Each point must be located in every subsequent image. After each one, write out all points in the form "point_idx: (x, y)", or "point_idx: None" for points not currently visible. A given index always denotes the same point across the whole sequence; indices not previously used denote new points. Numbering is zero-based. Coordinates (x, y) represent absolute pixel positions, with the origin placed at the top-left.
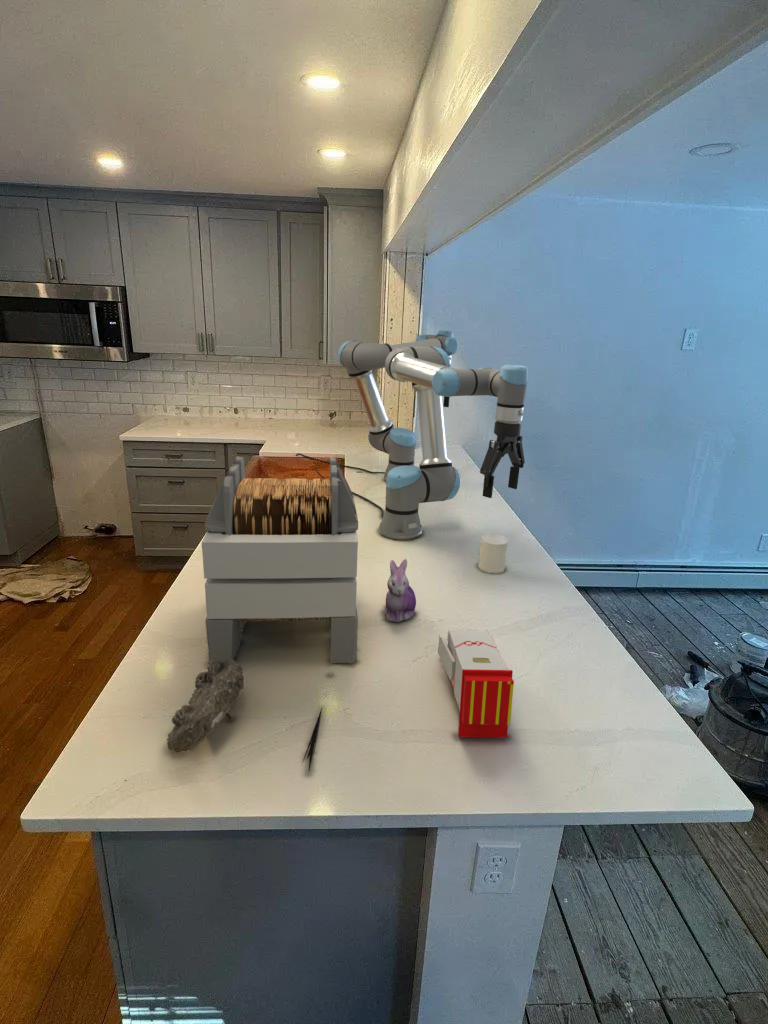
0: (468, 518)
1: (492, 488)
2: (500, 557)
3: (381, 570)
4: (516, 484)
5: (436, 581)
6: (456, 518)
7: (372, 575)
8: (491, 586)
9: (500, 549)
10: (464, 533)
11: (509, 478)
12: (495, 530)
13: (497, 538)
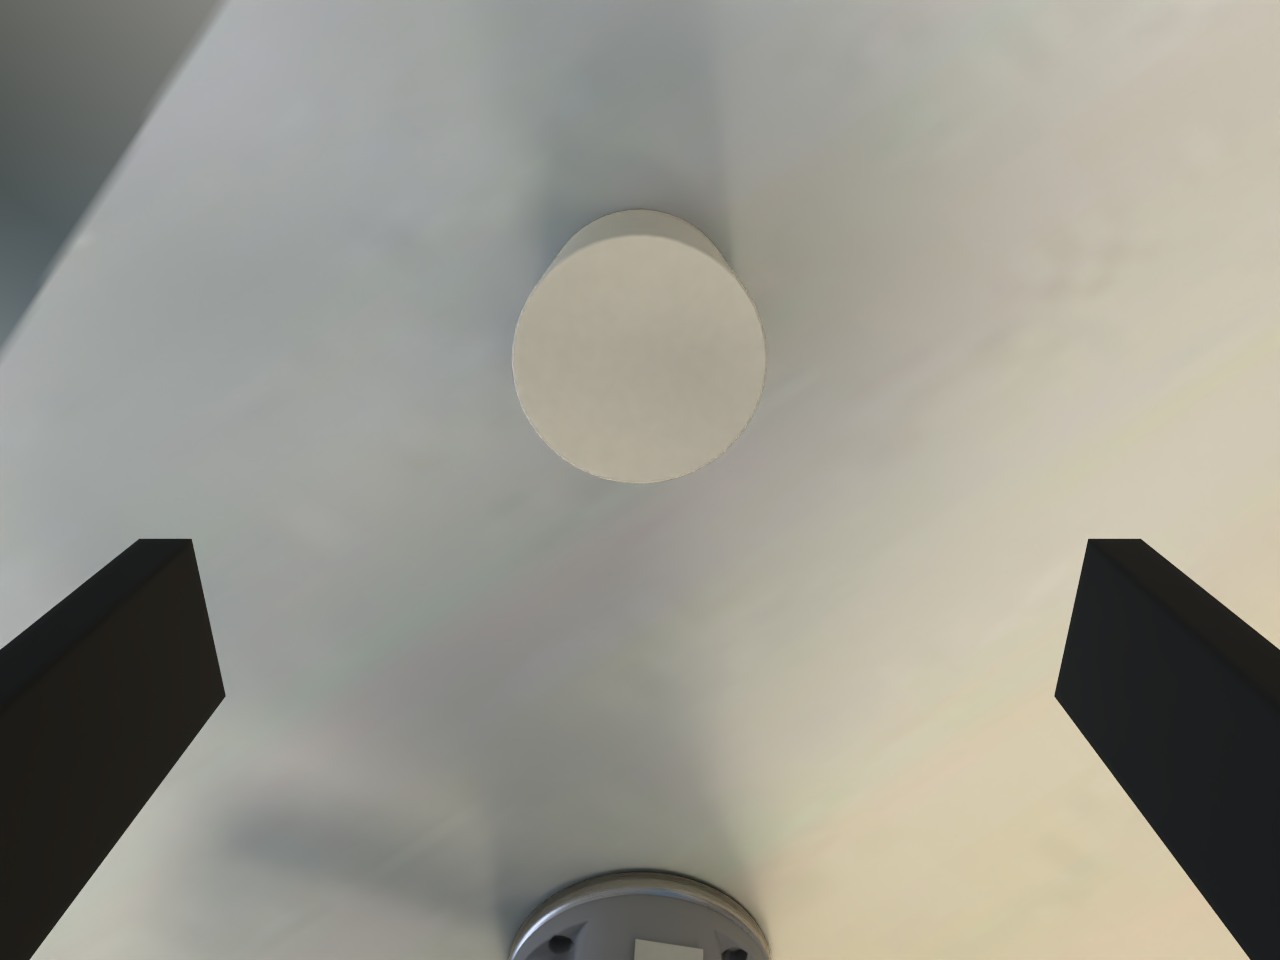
0: None
1: (1220, 648)
2: (686, 230)
3: None
4: (119, 591)
5: (1098, 434)
6: (158, 913)
7: None
8: (914, 123)
9: (699, 244)
10: (310, 752)
11: (122, 822)
12: None
13: (595, 362)
